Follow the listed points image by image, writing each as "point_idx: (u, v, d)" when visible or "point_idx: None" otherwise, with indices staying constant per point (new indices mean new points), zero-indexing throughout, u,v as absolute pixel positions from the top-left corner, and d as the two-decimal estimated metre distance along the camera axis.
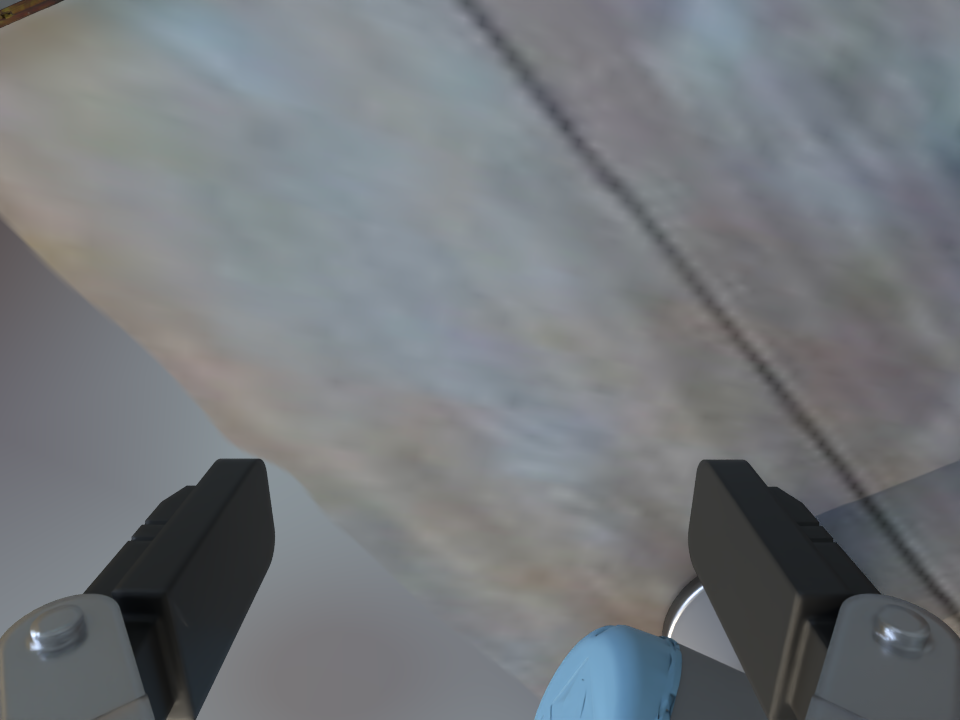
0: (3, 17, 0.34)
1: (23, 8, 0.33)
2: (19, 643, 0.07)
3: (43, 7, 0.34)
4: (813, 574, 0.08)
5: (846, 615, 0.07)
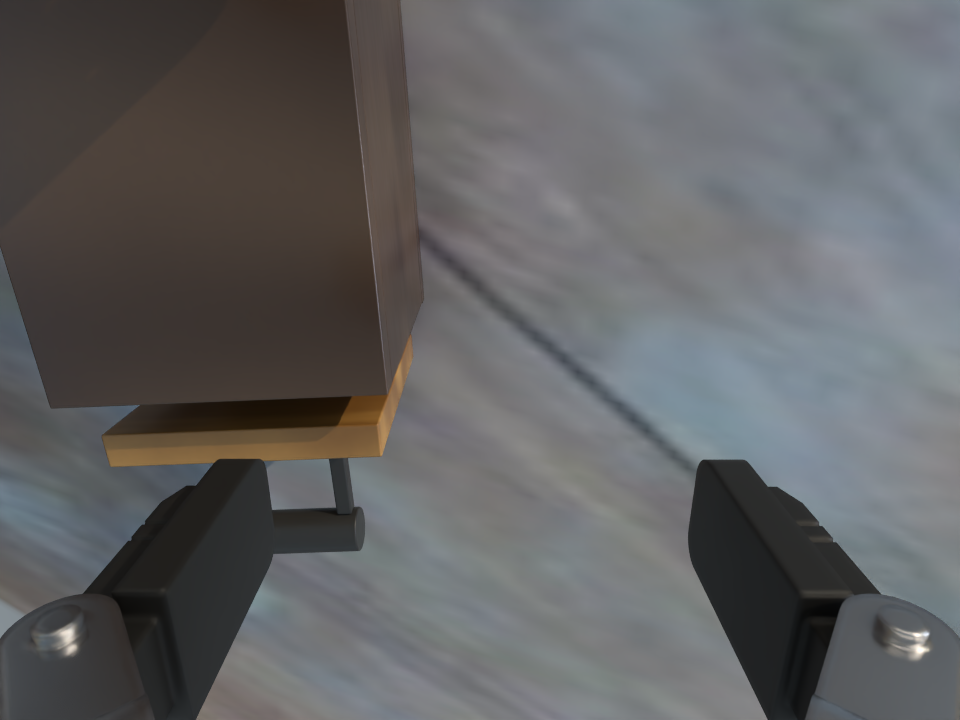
0: None
1: None
2: (19, 643, 0.07)
3: None
4: (813, 574, 0.08)
5: (846, 615, 0.07)
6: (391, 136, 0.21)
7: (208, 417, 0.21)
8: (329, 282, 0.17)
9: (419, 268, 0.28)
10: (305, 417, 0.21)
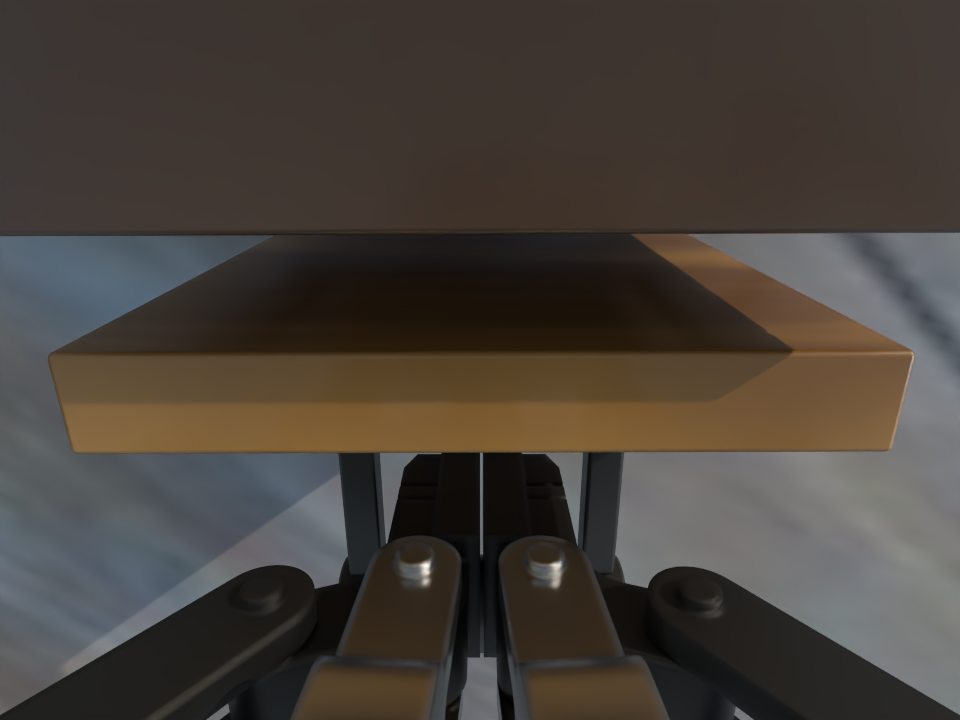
0: None
1: None
2: (387, 559, 0.08)
3: None
4: (509, 521, 0.09)
5: (507, 552, 0.08)
6: None
7: (363, 323, 0.07)
8: None
9: None
10: (651, 329, 0.07)
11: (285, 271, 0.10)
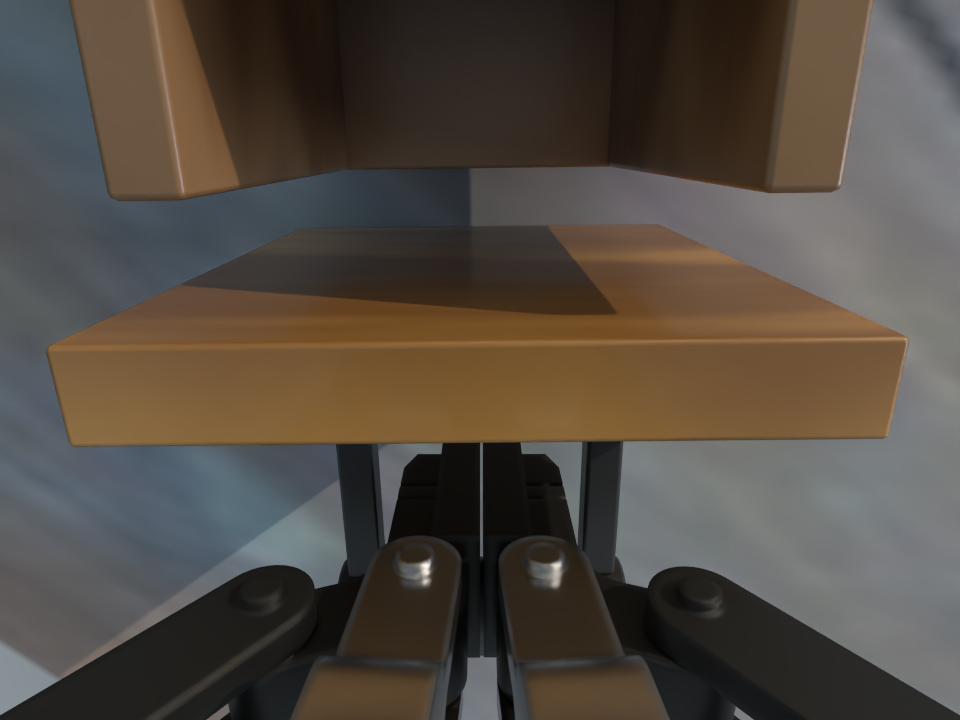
0: None
1: None
2: (388, 559, 0.08)
3: None
4: (509, 521, 0.09)
5: (507, 552, 0.08)
6: None
7: (359, 317, 0.07)
8: None
9: None
10: (646, 320, 0.07)
11: (283, 271, 0.10)
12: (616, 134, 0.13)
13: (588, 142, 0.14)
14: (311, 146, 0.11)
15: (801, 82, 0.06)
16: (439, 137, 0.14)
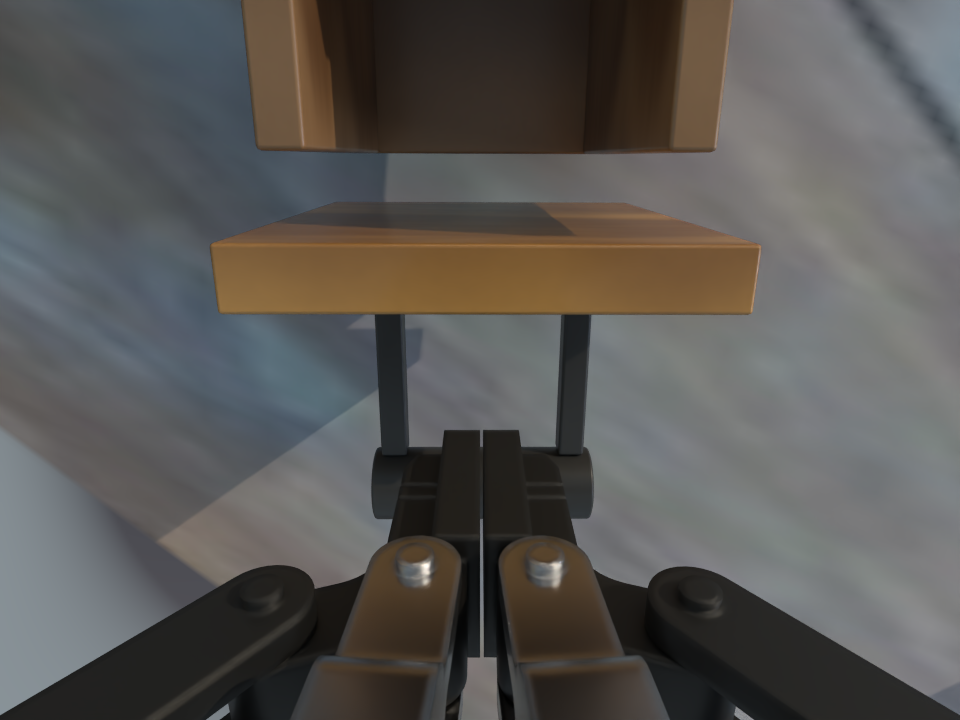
0: None
1: None
2: (387, 559, 0.08)
3: None
4: (509, 522, 0.09)
5: (507, 552, 0.08)
6: None
7: (407, 235, 0.11)
8: None
9: None
10: (598, 238, 0.11)
11: (340, 219, 0.14)
12: (589, 127, 0.17)
13: (568, 135, 0.18)
14: (359, 130, 0.15)
15: (688, 82, 0.10)
16: (451, 128, 0.17)
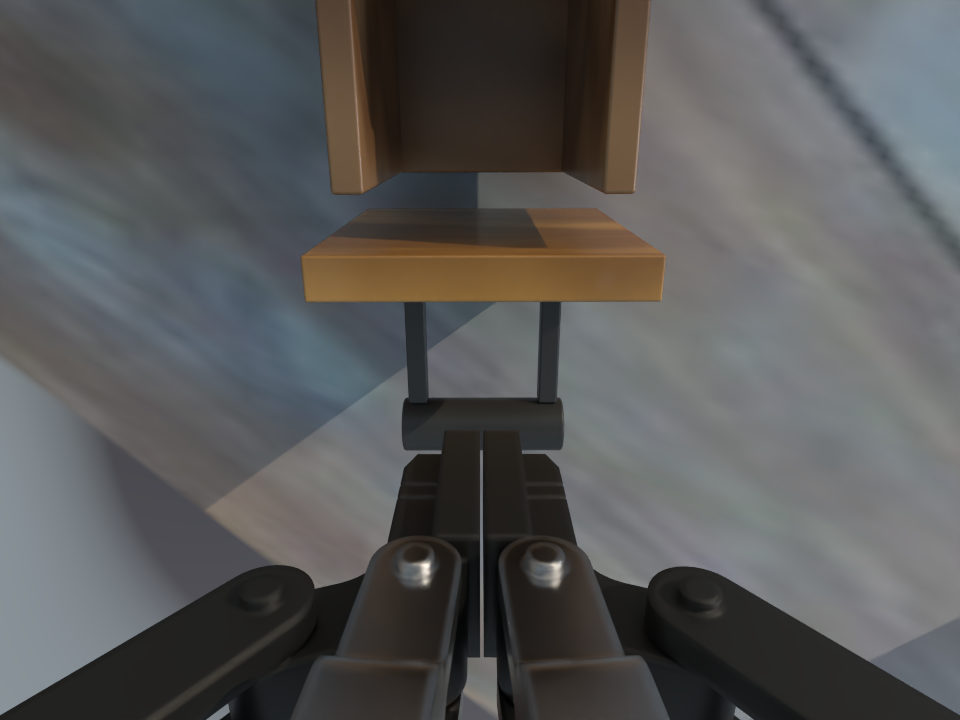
0: None
1: None
2: (387, 559, 0.08)
3: None
4: (509, 521, 0.09)
5: (507, 552, 0.08)
6: None
7: (429, 248, 0.16)
8: None
9: None
10: (559, 249, 0.16)
11: (378, 231, 0.19)
12: (565, 153, 0.22)
13: (550, 157, 0.23)
14: (391, 162, 0.20)
15: (614, 149, 0.15)
16: (458, 153, 0.22)
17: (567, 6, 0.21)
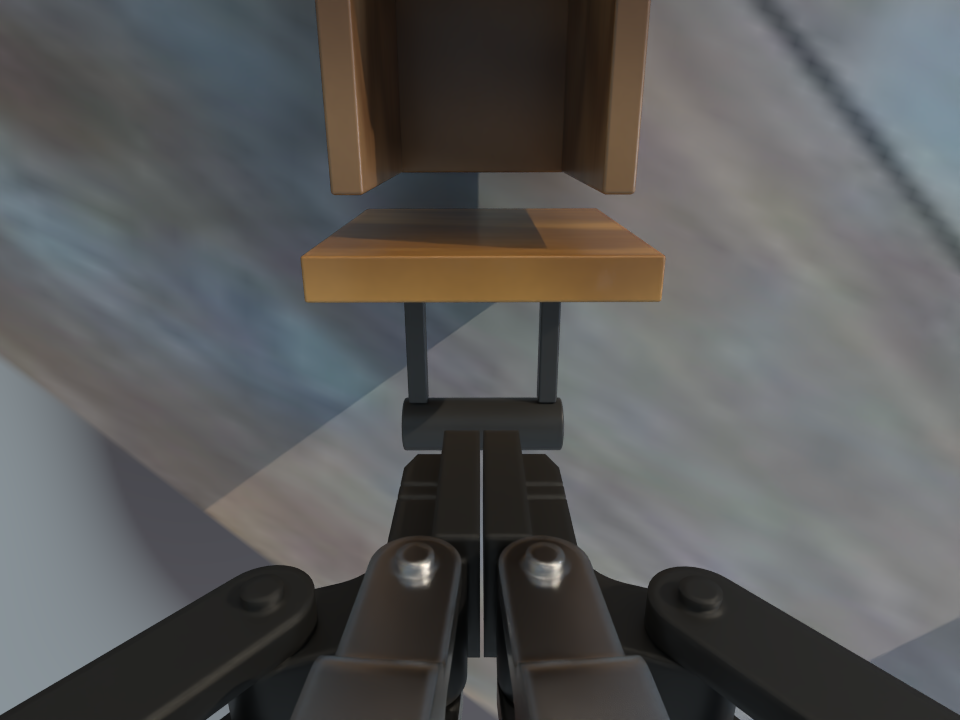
0: None
1: None
2: (387, 559, 0.08)
3: None
4: (509, 521, 0.09)
5: (507, 552, 0.08)
6: None
7: (429, 248, 0.16)
8: None
9: None
10: (559, 249, 0.16)
11: (378, 231, 0.19)
12: (565, 154, 0.22)
13: (550, 157, 0.23)
14: (390, 162, 0.20)
15: (614, 150, 0.15)
16: (458, 153, 0.22)
17: (567, 6, 0.21)
